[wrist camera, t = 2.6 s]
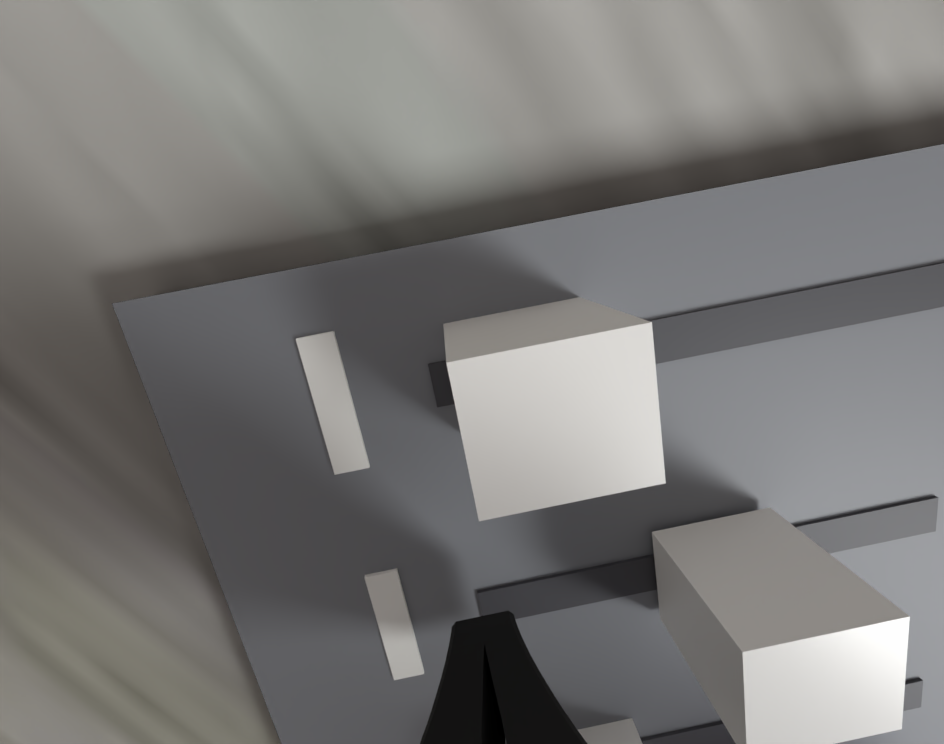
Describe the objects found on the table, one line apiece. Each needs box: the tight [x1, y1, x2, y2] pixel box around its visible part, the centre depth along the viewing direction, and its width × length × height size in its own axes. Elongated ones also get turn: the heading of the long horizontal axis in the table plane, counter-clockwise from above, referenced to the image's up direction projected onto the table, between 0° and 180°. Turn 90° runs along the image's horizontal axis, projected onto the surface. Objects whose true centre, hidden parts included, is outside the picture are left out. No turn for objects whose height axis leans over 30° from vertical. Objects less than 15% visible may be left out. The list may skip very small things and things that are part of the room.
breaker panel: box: [112, 144, 944, 744], centre depth 11 cm, size 18×24×5 cm
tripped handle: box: [652, 508, 910, 744], centre depth 10 cm, size 3×3×4 cm
